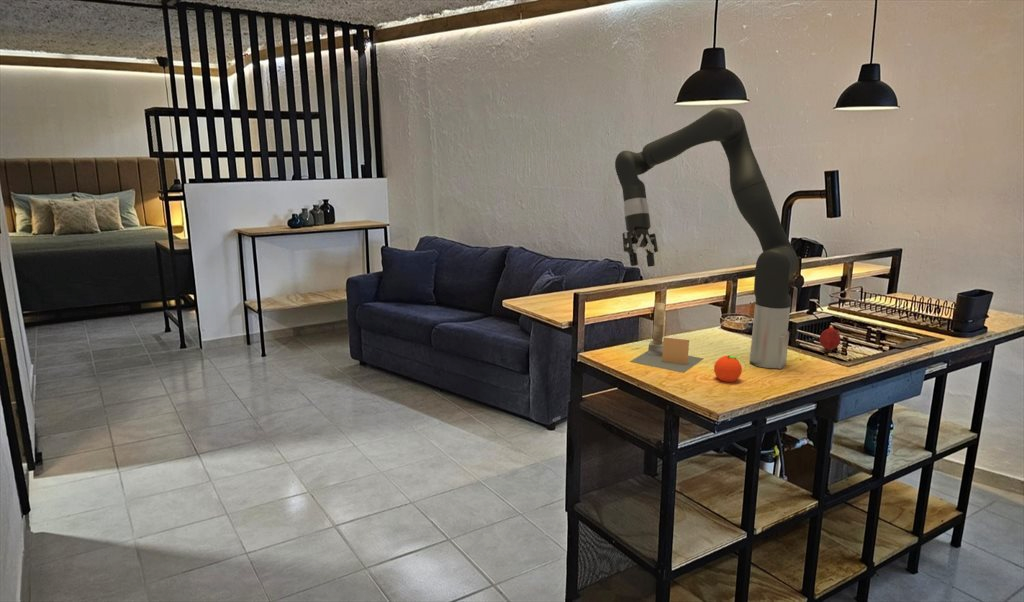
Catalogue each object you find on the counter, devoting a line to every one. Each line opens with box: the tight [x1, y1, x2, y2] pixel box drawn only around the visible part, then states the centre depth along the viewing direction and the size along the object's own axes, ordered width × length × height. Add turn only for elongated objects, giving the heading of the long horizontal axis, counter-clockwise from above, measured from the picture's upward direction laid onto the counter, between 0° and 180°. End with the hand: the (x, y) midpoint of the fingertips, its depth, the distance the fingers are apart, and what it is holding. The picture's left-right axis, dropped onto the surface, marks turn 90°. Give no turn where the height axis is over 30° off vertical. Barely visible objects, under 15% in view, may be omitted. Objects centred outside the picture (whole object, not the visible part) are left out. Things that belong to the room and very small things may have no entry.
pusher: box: [647, 302, 666, 356], centre depth 195 cm, size 4×4×15 cm
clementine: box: [713, 355, 747, 383], centre depth 174 cm, size 8×7×7 cm
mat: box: [629, 350, 705, 374], centre depth 191 cm, size 16×16×1 cm
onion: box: [819, 324, 841, 351], centre depth 203 cm, size 6×6×8 cm
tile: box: [662, 336, 690, 364], centre depth 188 cm, size 7×1×7 cm, turn 70°
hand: (643, 266), depth 207 cm, fingers open, 8 cm apart
